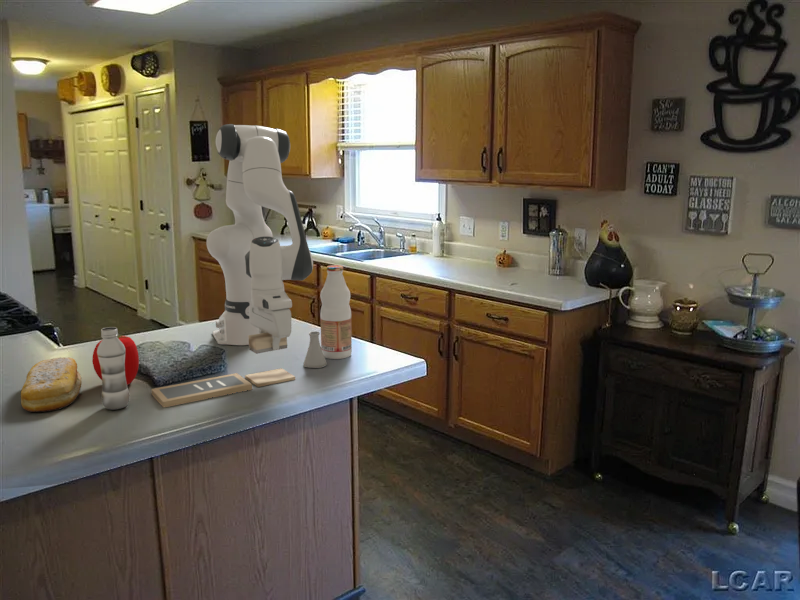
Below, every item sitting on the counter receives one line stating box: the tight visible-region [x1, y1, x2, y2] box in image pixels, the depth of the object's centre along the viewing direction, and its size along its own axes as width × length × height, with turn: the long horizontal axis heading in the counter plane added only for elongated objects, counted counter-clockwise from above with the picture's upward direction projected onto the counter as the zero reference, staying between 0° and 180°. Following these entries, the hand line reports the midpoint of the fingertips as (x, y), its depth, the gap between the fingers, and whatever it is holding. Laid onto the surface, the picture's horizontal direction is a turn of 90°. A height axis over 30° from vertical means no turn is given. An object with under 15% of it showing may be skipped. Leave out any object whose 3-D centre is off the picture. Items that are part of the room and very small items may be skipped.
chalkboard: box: [151, 372, 253, 408], centre depth 173 cm, size 11×23×2 cm, turn 124°
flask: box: [302, 330, 328, 369], centre depth 194 cm, size 7×7×10 cm
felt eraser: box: [248, 333, 288, 355], centre depth 181 cm, size 5×9×4 cm, turn 125°
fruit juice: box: [319, 264, 353, 360], centre depth 202 cm, size 9×9×28 cm
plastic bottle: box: [97, 326, 131, 411], centre depth 160 cm, size 6×7×20 cm
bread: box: [20, 356, 82, 413], centre depth 170 cm, size 13×26×8 cm, turn 25°
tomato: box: [92, 334, 140, 386], centre depth 176 cm, size 13×11×14 cm
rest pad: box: [244, 367, 296, 388], centre depth 183 cm, size 9×11×1 cm
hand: (270, 346), depth 181 cm, fingers closed on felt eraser, 5 cm apart
